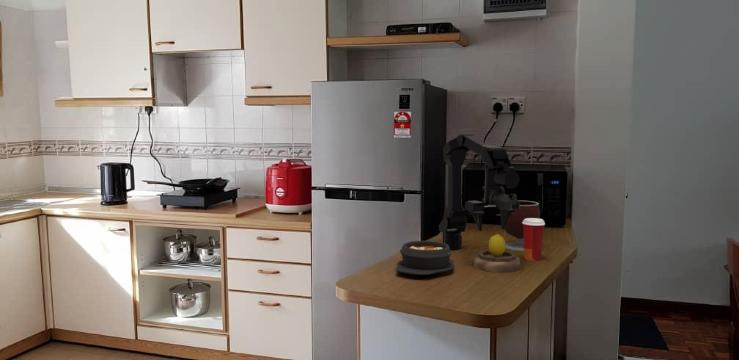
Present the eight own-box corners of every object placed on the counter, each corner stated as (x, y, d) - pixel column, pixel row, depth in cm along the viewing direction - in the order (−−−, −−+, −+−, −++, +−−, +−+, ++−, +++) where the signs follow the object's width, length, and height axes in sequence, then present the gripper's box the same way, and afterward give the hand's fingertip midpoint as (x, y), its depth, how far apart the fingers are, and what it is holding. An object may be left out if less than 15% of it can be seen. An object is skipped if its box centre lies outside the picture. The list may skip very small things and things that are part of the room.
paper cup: (544, 257, 225) (546, 218, 223) (543, 262, 217) (544, 222, 216) (522, 255, 227) (523, 217, 225) (519, 260, 220) (521, 220, 218)
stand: (465, 266, 210) (465, 254, 210) (488, 259, 222) (488, 247, 221) (505, 274, 201) (506, 261, 200) (527, 266, 212) (528, 253, 212)
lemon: (486, 255, 213) (486, 232, 213) (502, 255, 214) (503, 232, 213) (490, 259, 208) (491, 235, 207) (507, 259, 208) (508, 235, 208)
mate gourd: (535, 243, 247) (537, 193, 245) (541, 251, 234) (543, 198, 231) (495, 242, 249) (496, 192, 247) (498, 250, 235) (500, 197, 233)
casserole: (437, 283, 190) (438, 256, 189) (382, 275, 199) (382, 249, 198) (465, 265, 212) (466, 241, 211) (415, 259, 221) (415, 235, 220)
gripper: (483, 189, 202) (481, 237, 204) (531, 186, 209) (528, 232, 211) (464, 184, 212) (463, 230, 214) (510, 182, 219) (508, 226, 221)
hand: (491, 230), depth 215 cm, fingers open, 9 cm apart
